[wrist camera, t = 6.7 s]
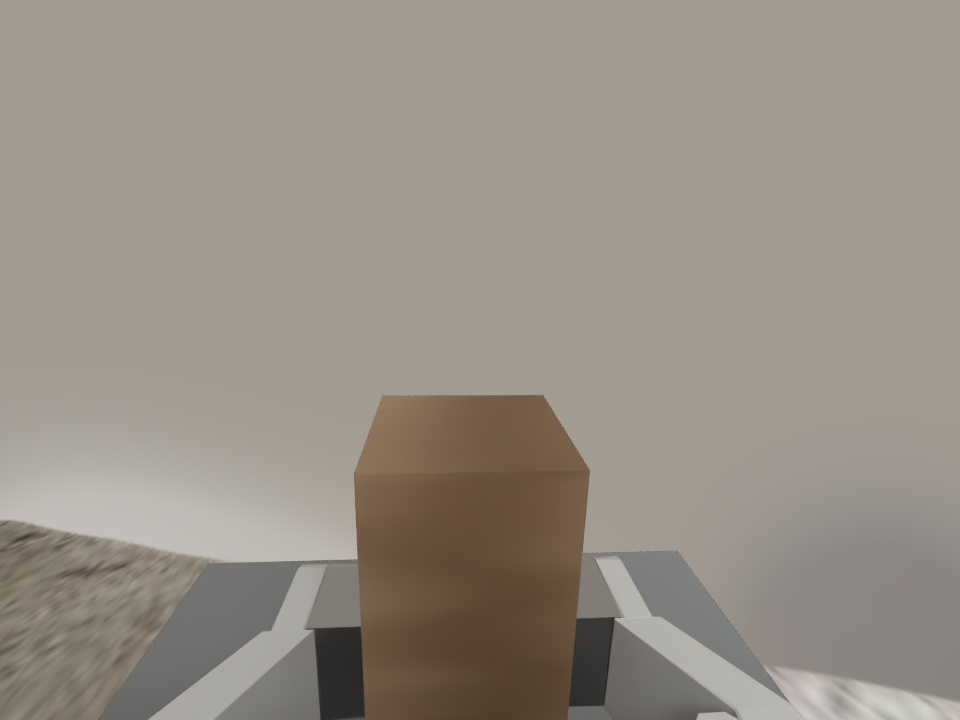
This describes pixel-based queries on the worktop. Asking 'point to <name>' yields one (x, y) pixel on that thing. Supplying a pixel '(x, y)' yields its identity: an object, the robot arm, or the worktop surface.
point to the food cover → (447, 575)
